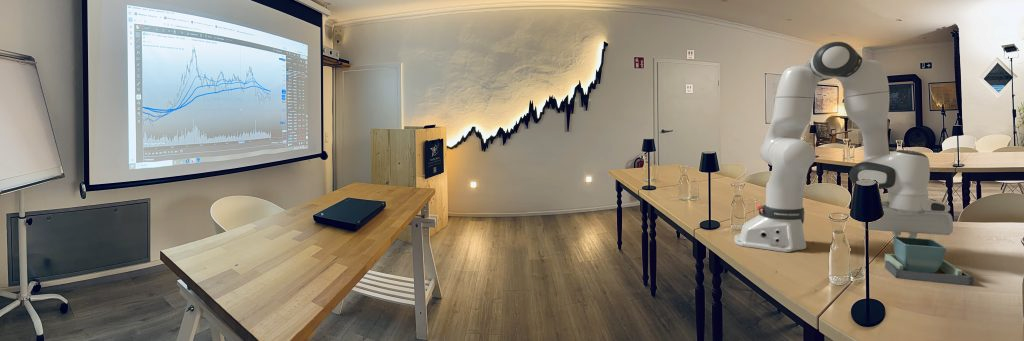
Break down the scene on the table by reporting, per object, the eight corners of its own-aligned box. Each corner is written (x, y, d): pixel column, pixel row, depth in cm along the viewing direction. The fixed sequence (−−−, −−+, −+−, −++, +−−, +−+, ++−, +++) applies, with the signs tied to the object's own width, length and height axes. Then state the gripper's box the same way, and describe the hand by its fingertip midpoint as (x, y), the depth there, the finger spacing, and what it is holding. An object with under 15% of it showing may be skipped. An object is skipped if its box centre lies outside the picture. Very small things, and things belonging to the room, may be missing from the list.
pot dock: (896, 278, 111) (896, 270, 110) (884, 268, 118) (885, 260, 118) (972, 286, 104) (973, 277, 103) (955, 275, 111) (956, 266, 111)
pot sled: (898, 275, 112) (900, 255, 111) (882, 260, 123) (883, 242, 123) (961, 281, 106) (963, 260, 106) (937, 265, 117) (939, 246, 117)
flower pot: (930, 268, 117) (932, 238, 116) (945, 279, 109) (947, 247, 108) (890, 264, 121) (892, 236, 120) (902, 274, 113) (904, 244, 112)
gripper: (866, 202, 124) (863, 245, 126) (958, 206, 114) (953, 252, 116) (860, 198, 130) (857, 239, 131) (947, 202, 120) (943, 246, 122)
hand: (903, 245), depth 124 cm, fingers closed
